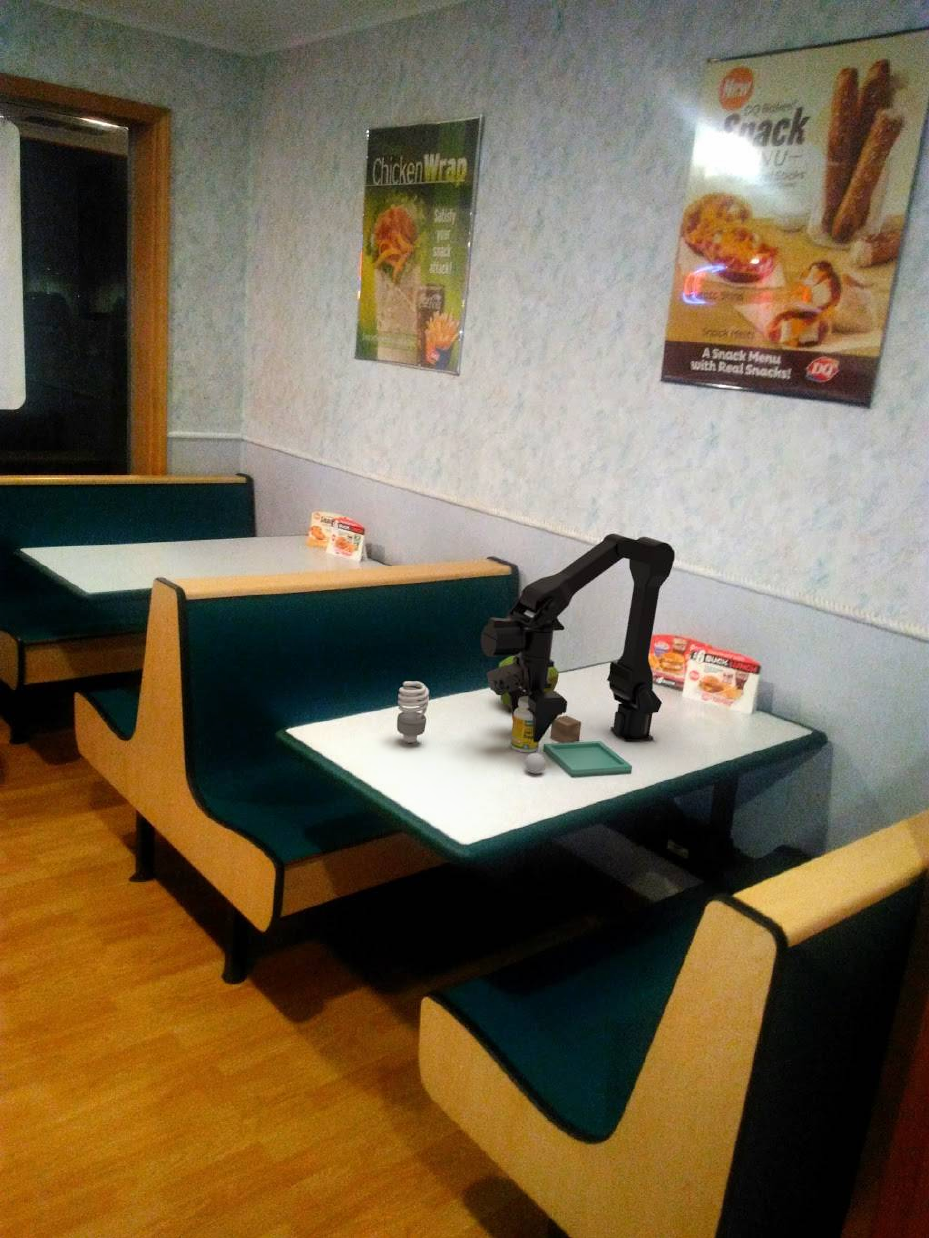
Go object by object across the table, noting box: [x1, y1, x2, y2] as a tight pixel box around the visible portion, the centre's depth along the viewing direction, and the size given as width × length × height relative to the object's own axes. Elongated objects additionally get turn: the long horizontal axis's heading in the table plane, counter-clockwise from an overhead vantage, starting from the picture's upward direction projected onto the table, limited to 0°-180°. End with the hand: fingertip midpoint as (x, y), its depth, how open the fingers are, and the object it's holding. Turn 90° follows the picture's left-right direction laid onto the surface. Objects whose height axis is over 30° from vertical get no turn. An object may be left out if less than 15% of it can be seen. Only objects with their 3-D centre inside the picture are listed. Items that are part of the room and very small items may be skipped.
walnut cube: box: [549, 714, 582, 743], centre depth 188 cm, size 4×4×4 cm
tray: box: [542, 740, 633, 778], centre depth 178 cm, size 12×12×1 cm
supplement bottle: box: [510, 696, 540, 754], centre depth 181 cm, size 5×5×10 cm
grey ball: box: [524, 752, 546, 774], centre depth 171 cm, size 4×4×4 cm
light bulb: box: [396, 680, 430, 744], centre depth 178 cm, size 6×6×12 cm
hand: (525, 732), depth 182 cm, fingers open, 9 cm apart
